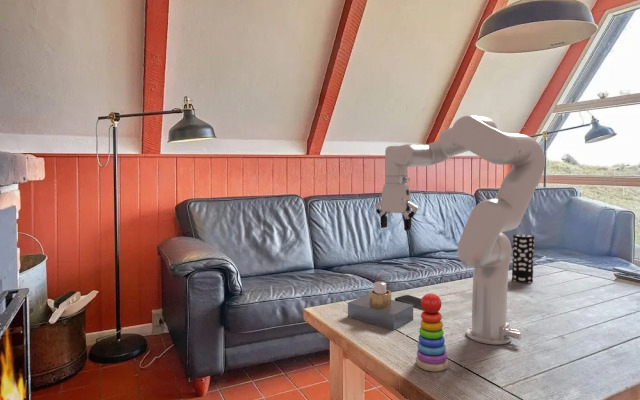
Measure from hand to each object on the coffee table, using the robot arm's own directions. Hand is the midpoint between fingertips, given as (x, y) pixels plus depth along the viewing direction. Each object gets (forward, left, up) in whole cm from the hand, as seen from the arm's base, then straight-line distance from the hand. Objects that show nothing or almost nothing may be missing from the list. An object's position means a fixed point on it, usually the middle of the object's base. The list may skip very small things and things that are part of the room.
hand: (395, 228), depth 155 cm
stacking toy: (-32, +34, -28) cm, 55 cm away
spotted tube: (-24, -66, -28) cm, 76 cm away
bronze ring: (-3, +14, -23) cm, 27 cm away
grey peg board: (-3, +14, -28) cm, 32 cm away
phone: (-4, -8, -29) cm, 30 cm away
